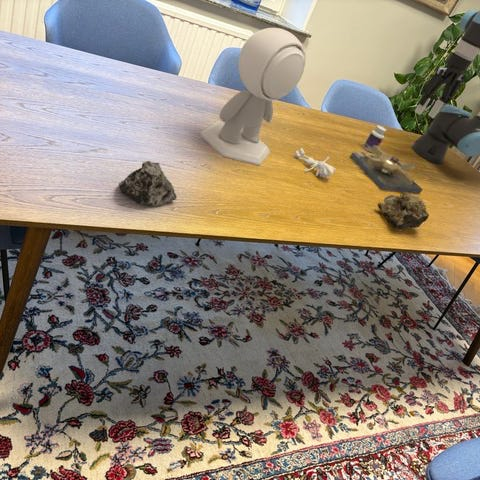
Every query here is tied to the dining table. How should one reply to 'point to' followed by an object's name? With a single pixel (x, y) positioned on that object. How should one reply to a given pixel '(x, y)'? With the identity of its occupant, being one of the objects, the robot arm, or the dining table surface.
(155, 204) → the rock
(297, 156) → the figurine
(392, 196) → the mineral specimen
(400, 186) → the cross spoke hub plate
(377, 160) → the four spoke knob plate
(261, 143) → the big headed doll
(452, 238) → the dining table surface
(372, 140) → the pill bottle
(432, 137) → the robot arm
